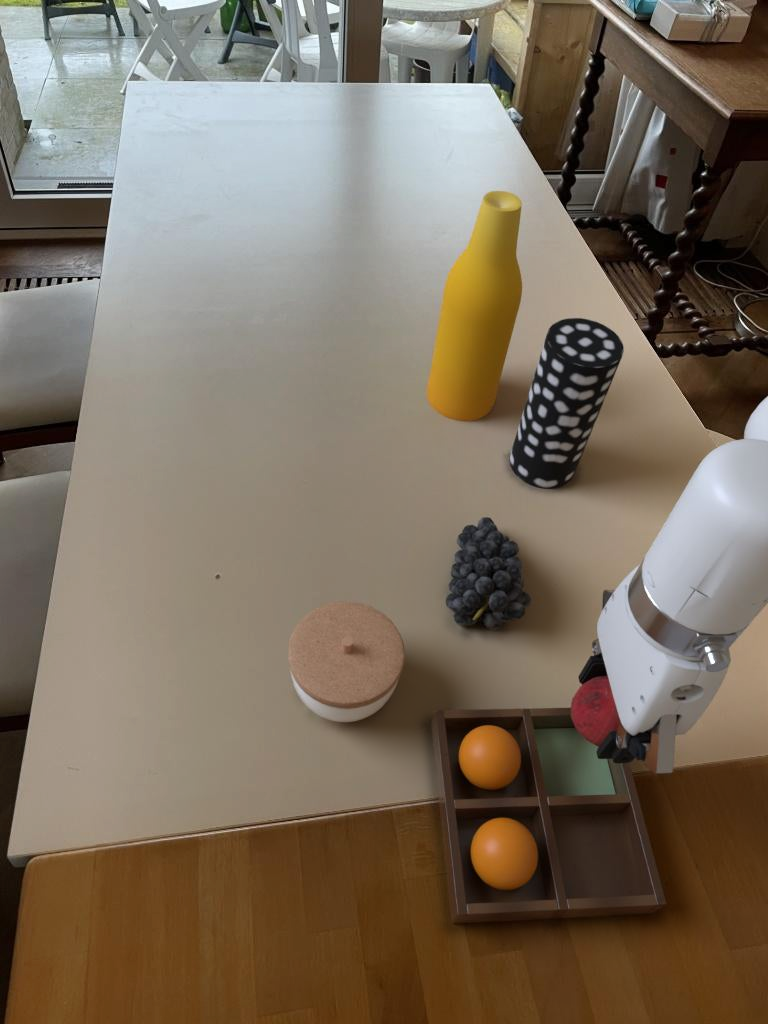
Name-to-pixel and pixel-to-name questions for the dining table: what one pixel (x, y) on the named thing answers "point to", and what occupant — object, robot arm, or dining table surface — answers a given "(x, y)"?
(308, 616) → the trinket box
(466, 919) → the wooden compartment tray
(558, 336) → the white-spotted black cylinder
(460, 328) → the beer bottle
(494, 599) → the fruit
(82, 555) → the dining table surface
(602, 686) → the pomegranate
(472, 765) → the clementine
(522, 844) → the clementine
